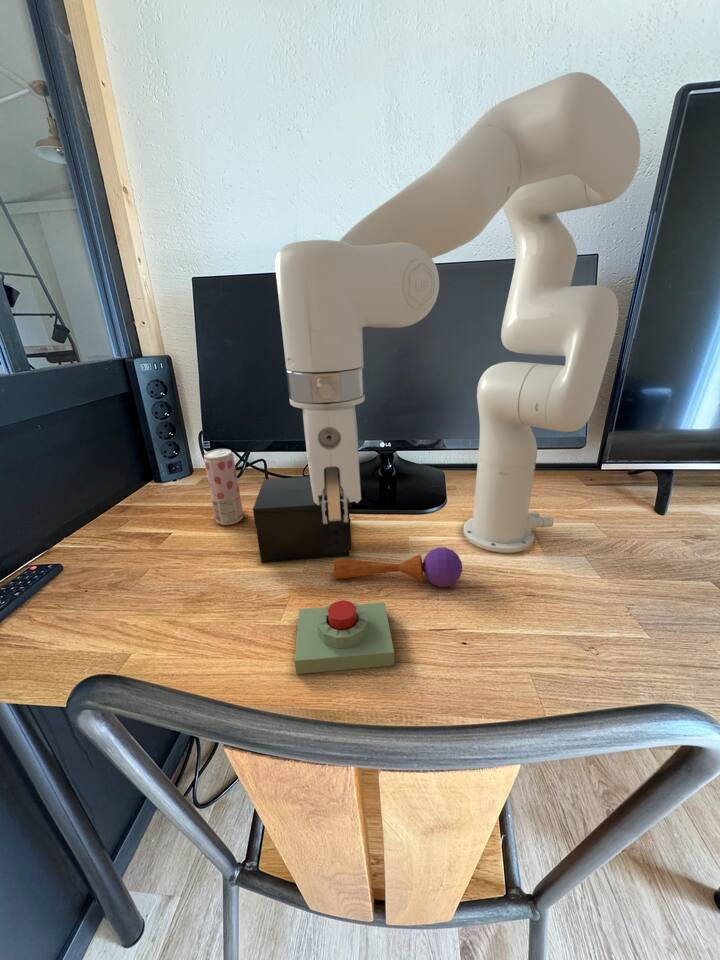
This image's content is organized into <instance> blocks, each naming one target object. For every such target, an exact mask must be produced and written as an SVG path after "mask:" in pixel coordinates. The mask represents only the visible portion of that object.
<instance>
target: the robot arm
mask: <svg viewBox="0 0 720 960" xmlns="http://www.w3.org/2000/svg"><path fill="white" fill-rule="evenodd" d="M615 95H616V94H614V93H613V92H612V91H611V90H610V88H609V87H608V86H607V85H605V83H603V82H602V81H601V80H600V79H598V78H597V77H595V76H593V75H592V74H589V73H587V72H581V71H574V72H569V73H566V74H563V75H560V76H558V77H556V78H552V79H550V80H549V81H546V82H544V83H541V84H539V85H537V86H535V87H532V88H529V89H527V90H525V91H523V92H519V93H518V94H515V95H513V96H511V97H508V98H507V99H504V100H502V101H499V102H498V103H497V104H495V105H493V106H492V107H491V108H489V109H488V110H487V111H486V112H485V113H483V115H482V116H480V118H479V119H478V120H477V121H475V123H474V124H473V125H472V126H471V127H470V128H469V129H468V130H467V131H466V132H465V133H464V134H463V135H462V137H460V138H459V139H458V141H456V142H455V144H454V145H453V146H452V147H451V148H450V149H449V150H448V151H447V152H446V153H445V154H444V155H443V156H442V157H441V158H440V160H438V162H436V163H435V164H434V165H433V166H432V167H431V168H430V169H429V170H427V172H425V173H424V174H422V175H420V176H419V177H418V178H415V179H414V180H413V181H412V182H410V183H409V184H408V185H406V186H405V187H404V188H402V189H401V190H400V191H398V193H396V194H394V196H392V197H391V198H389V199H387V200H386V201H385V202H383V203H382V204H381V205H379V206H377V208H375V209H373V210H372V211H371V212H370V213H368V214H366V216H364V217H363V218H362V219H360V220H359V221H358V222H357V223H356V224H354V225H353V226H352V227H351V228H350V229H349V230H348V231H346V233H345V234H344V235H343V236H342V237H341V238H340V239H339V240H331V239H309V240H300V241H295V242H290V243H288V244H285V245H283V246H282V247H281V248H280V249H279V250H278V252H277V254H276V257H275V263H274V264H275V277H276V287H277V295H278V296H277V297H278V305H279V314H280V323H281V333H282V334H281V335H282V343H283V354H284V362H285V369H286V370H285V371H286V380H287V390H288V399H289V405H290V406H292V407H294V408H298V409H301V410H302V421H303V431H304V440H305V449H306V457H307V465H308V473H309V477H310V481H311V487H312V494H313V500H314V502H315V503H316V504H317V505H319V506H320V503H321V505H322V510H321V513H322V520H321V526H322V538H323V550H324V552H325V553H334V552H348V551H350V552H351V551H352V549H353V546H352V530H351V529H352V528H351V518H350V507H347V501H348V500H349V502H352V503H355V504H359V502H360V501H362V490H361V473H360V453H359V451H360V450H359V435H358V434H359V433H358V423H357V412H356V406H357V405H361V404H362V403H364V402H365V400H366V397H365V396H366V394H365V393H366V392H365V365H364V339H363V338H364V337H363V336H364V335H363V331H364V330H363V328H376V329H399V328H400V329H401V328H405V327H409V326H412V325H415V324H417V323H419V322H420V321H421V320H422V319H425V317H426V316H428V314H429V313H430V312H431V311H432V309H433V307H434V306H435V304H436V302H437V299H438V296H439V293H440V292H439V291H440V275H439V272H438V268H437V265H436V263H435V261H434V260H433V259H434V258H437V257H441V256H443V255H445V254H447V253H448V254H449V253H450V252H452V251H454V250H456V249H458V248H460V247H462V246H464V245H466V244H468V243H470V242H472V241H473V240H474V239H475V238H477V237H478V236H479V235H480V234H481V233H482V232H483V231H484V230H485V229H486V227H487V226H488V225H489V224H490V223H491V221H492V220H493V219H494V218H495V217H496V215H497V214H498V213H499V212H500V210H501V209H503V211H504V215H505V216H506V220H507V222H508V225H509V228H510V231H511V234H512V238H513V241H514V246H515V261H514V268H513V274H512V278H511V283H510V288H509V291H508V296H507V299H506V305H505V308H504V314H503V318H502V324H501V329H500V330H501V331H500V339H501V344H502V345H503V347H504V348H505V349H506V350H508V351H510V352H513V353H518V354H525V355H534V356H535V355H537V356H555V357H565V361H564V362H565V363H564V365H563V364H562V365H561V364H549V363H547V364H546V363H540V362H525V361H522V362H521V361H506V362H505V361H503V362H498V363H496V364H493V365H491V366H489V367H488V368H487V369H486V370H484V372H483V373H482V374H481V376H480V378H479V381H478V383H477V388H476V403H477V411H478V420H479V439H478V452H477V453H478V454H477V463H476V464H477V465H476V479H475V487H474V500H473V501H474V502H473V512H472V517H470V518H468V519H467V520H466V521H465V522H464V524H463V530H462V531H463V535H464V537H465V538H466V540H467V541H468V542H469V543H471V544H472V545H474V546H476V547H477V548H480V549H482V550H486V551H488V552H494V553H500V554H513V553H519V552H522V551H525V550H527V549H529V548H530V547H531V546H532V545H533V543H534V540H535V532H534V530H535V531H536V530H537V528H550V527H551V528H552V527H553V526H554V520H553V517H552V516H540V513H539V512H538V511H535V512H530V503H531V497H532V492H533V491H532V490H533V483H534V478H535V471H536V463H537V457H538V444H537V439H536V437H535V434H534V432H533V430H532V428H531V427H533V428H539V429H544V430H548V431H555V432H562V433H572V432H576V431H579V430H580V429H582V428H583V427H584V426H586V424H587V423H588V422H589V420H590V418H591V416H592V413H593V411H594V410H595V406H596V402H597V399H598V397H599V393H600V389H601V386H602V382H603V380H604V379H603V378H604V376H605V372H606V368H607V364H608V362H609V357H610V354H611V351H612V347H613V344H614V341H615V336H616V332H617V327H618V320H619V312H620V311H619V302H618V298H617V295H616V294H615V293H614V291H613V290H611V289H610V288H608V287H607V286H603V285H595V284H594V285H593V284H592V285H591V284H590V285H576V286H575V285H573V286H572V281H573V276H574V272H575V268H576V263H577V259H578V248H577V246H576V242H575V240H574V239H573V238H574V237H573V236H572V235H571V233H570V231H569V230H568V229H567V227H566V226H565V224H564V223H563V222H562V221H561V219H560V218H559V216H558V214H559V213H565V212H571V211H576V210H581V209H585V208H591V207H597V206H600V205H605V204H608V203H611V202H613V201H615V200H616V199H618V198H619V197H621V196H622V195H623V194H624V193H625V192H626V191H627V190H628V188H629V187H630V185H631V184H632V182H633V181H634V178H635V176H636V174H637V171H638V168H639V164H640V158H641V137H640V132H639V130H638V127H637V124H636V122H635V120H634V118H633V117H632V115H631V114H630V113H629V112H628V110H627V109H626V108H625V107H624V106H623V104H622V103H621V102H620V100H619V99H618V98H617V97H616V96H615ZM347 498H348V500H347ZM342 507H343V508H342Z"/></svg>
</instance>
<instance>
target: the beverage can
mask: <svg viewBox="0 0 720 960" xmlns="http://www.w3.org/2000/svg"><path fill="white" fill-rule="evenodd" d="M203 458H204V459H203V462H204V467H205V472H206V477H207V482H208V488H209V492H210V497H211V498H210V499H211V502H212V507H213V513H214V518H215V521H216V523H217V524H219V525H222V526H230V525H234V524H237V523H239V522H240V521H242V520H243V518H244V510H243V504H242V499H241V494H240V487H239V481H238V476H237V469H236V465H235V458H234V455H233V452H232V450H231V449H228V448H216V449H212V450H209V451H206V452H205V453H204V455H203Z"/></svg>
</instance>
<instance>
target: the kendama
mask: <svg viewBox="0 0 720 960" xmlns="http://www.w3.org/2000/svg"><path fill="white" fill-rule="evenodd" d="M395 572H400V573H401V574H402V573H403V574H404V575H407V576H409V577H412V578H413V579H416V580H418V581H420V582H423V576H425V579H426V580H428V582H429V583H431V584H432V585H434V586H437V587H438V588H440V587H441V588H444V587H449V586H453V585H455V584H456V583H457V582H458V580H459V579H460V578H461V576H462V572H463V562H462V560H461V558H460V556H459V555H458V554H457V553H456V552H455V551H454V550H453V549H451V548H448V547H446V546H445V547H444V546H443V547H441V546H439V547H435V548H433V549H431V550H430V551H429V552H428V553H427V554H426V555H425V556H424V559H422V553H419V554H416V555H415V556H414V555H413V556H412V557H411V558H408V559H405V560H404V561H402V562H400V563H390V562H382V561H381V562H380V561H372V560H371V561H369V560H361V559H359V560H358V559H347V558H340V557H334V561H333V577H334V579H335V580H339V579H347V578H348V579H349V578H355V577H364V576H371V575H379V574H387V573H395Z"/></svg>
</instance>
